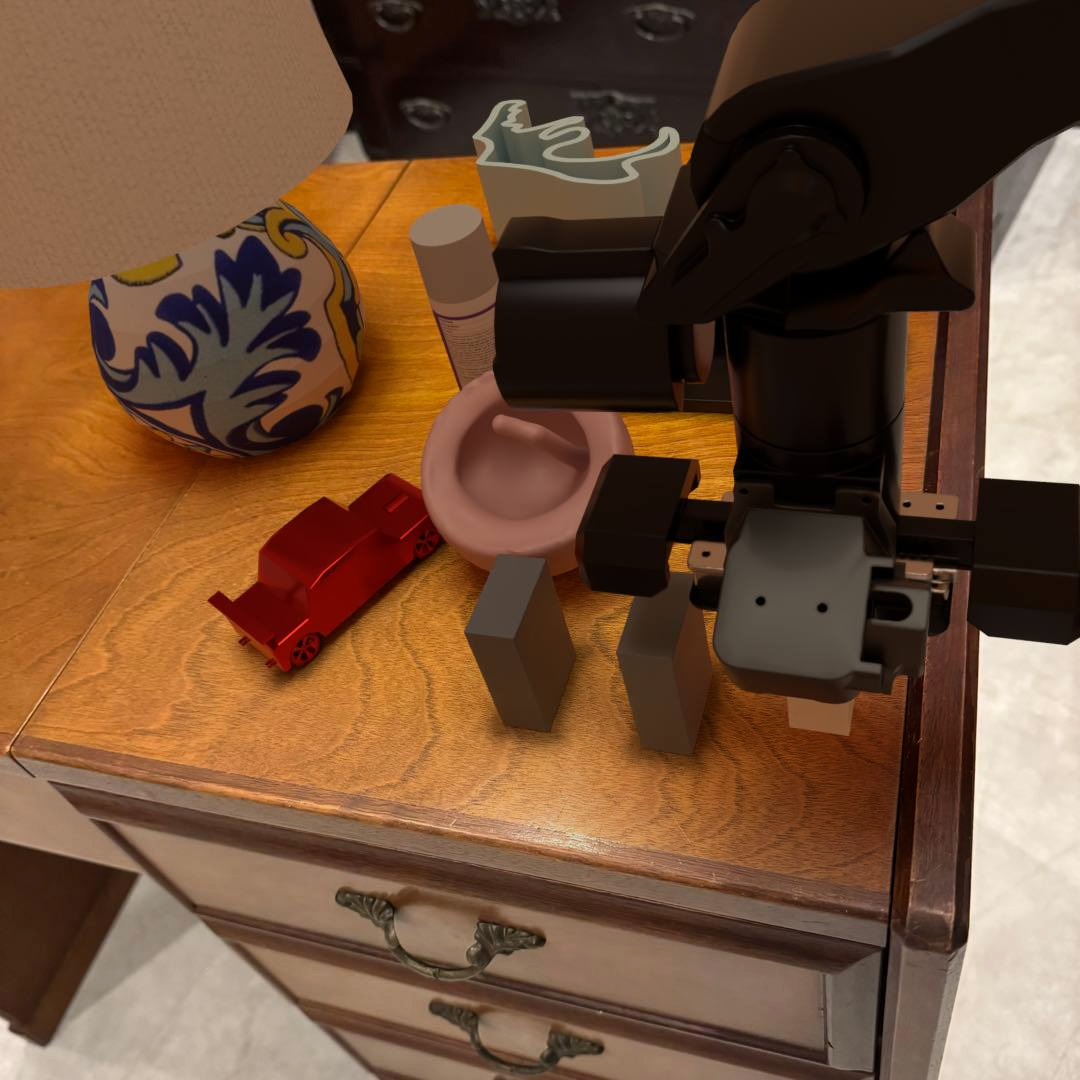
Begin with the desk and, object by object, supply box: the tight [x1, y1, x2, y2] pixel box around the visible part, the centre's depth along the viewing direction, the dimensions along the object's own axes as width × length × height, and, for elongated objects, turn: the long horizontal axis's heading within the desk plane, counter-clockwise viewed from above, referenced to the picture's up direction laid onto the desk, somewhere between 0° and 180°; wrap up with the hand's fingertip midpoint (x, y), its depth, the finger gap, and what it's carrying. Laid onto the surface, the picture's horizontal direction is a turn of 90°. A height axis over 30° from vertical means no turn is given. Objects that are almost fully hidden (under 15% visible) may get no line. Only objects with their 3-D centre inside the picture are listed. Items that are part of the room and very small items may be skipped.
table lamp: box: [0, 0, 367, 459], centre depth 66 cm, size 27×27×40 cm
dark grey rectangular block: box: [463, 554, 577, 733], centre depth 54 cm, size 3×5×8 cm, turn 162°
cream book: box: [786, 696, 856, 737], centre depth 46 cm, size 3×5×8 cm, turn 162°
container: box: [408, 203, 499, 392], centre depth 67 cm, size 5×5×15 cm
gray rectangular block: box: [615, 570, 714, 757], centre depth 51 cm, size 3×5×8 cm, turn 162°
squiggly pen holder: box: [472, 99, 684, 242], centre depth 82 cm, size 18×10×9 cm, turn 56°
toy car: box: [206, 472, 441, 673], centre depth 63 cm, size 14×6×5 cm, turn 137°
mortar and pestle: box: [420, 370, 636, 577], centre depth 60 cm, size 12×12×11 cm
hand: (825, 664), depth 47 cm, fingers closed on cream book, 2 cm apart
